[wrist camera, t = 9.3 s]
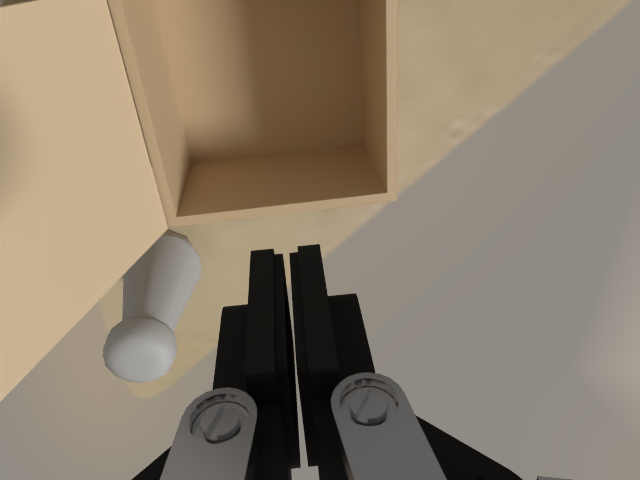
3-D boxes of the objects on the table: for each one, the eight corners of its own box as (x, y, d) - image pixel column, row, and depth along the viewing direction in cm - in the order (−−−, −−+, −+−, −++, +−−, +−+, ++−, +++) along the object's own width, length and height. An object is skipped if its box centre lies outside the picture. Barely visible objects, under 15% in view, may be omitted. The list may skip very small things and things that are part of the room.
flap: (-299, 64, 11) (-317, 65, 11) (-38, 441, 18) (-52, 438, 18) (103, -13, 23) (92, -12, 24) (167, 228, 30) (158, 228, 30)
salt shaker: (129, 274, 42) (83, 393, 31) (133, 215, 40) (84, 323, 29) (200, 283, 44) (180, 401, 32) (208, 226, 41) (190, 334, 30)
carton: (364, -46, 32) (398, -40, 24) (369, 148, 39) (397, 200, 31) (142, -26, 31) (104, -13, 24) (186, 168, 38) (168, 227, 30)
